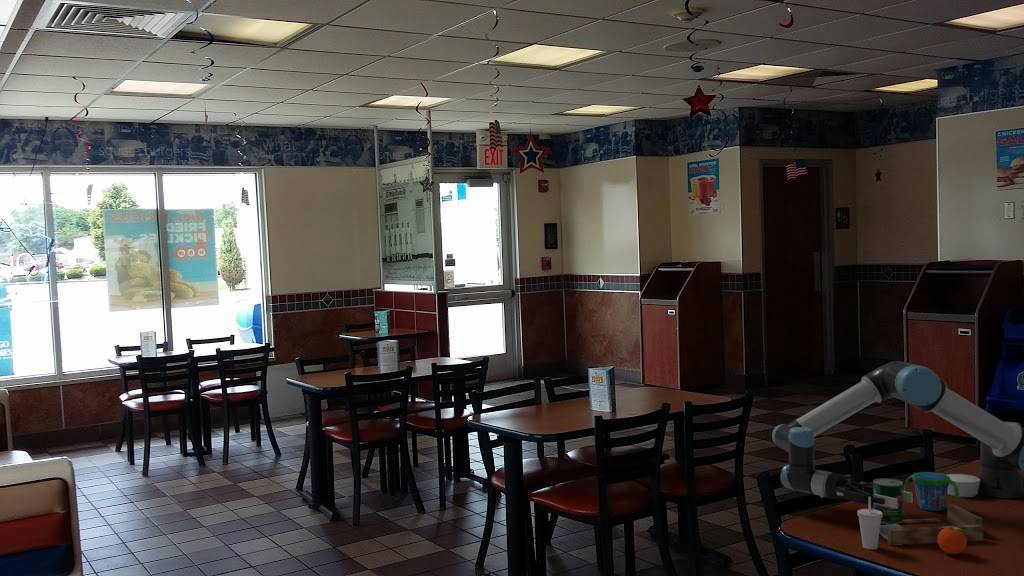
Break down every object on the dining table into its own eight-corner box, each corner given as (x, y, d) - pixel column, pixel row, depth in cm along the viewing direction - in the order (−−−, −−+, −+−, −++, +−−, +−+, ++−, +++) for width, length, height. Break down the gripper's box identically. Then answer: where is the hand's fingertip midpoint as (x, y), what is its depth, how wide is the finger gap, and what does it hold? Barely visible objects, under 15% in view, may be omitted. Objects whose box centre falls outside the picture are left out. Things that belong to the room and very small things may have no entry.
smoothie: (856, 549, 242) (855, 498, 241) (859, 542, 247) (858, 492, 247) (881, 552, 239) (881, 500, 238) (884, 545, 244) (883, 494, 244)
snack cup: (898, 506, 279) (898, 474, 279) (914, 500, 286) (914, 468, 286) (948, 517, 267) (948, 483, 267) (964, 510, 274) (964, 477, 274)
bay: (951, 520, 265) (951, 503, 265) (990, 540, 246) (990, 522, 246) (858, 524, 263) (858, 507, 262) (890, 545, 244) (890, 527, 244)
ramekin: (934, 492, 295) (934, 476, 295) (957, 487, 300) (957, 472, 299) (963, 500, 285) (963, 484, 284) (987, 495, 289) (987, 479, 289)
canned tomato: (885, 525, 250) (885, 486, 249) (867, 517, 258) (867, 479, 257) (909, 522, 252) (909, 484, 252) (890, 514, 260) (890, 477, 259)
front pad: (896, 525, 261) (896, 524, 261) (922, 540, 247) (922, 539, 247) (867, 526, 261) (867, 525, 261) (891, 542, 247) (891, 541, 247)
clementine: (961, 548, 240) (961, 522, 240) (976, 557, 233) (976, 530, 233) (932, 549, 240) (932, 523, 240) (945, 558, 233) (945, 531, 233)
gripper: (848, 491, 275) (922, 506, 258) (811, 504, 262) (886, 521, 244) (848, 467, 275) (922, 480, 257) (811, 478, 262) (886, 494, 244)
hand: (904, 500), depth 251 cm, fingers closed on canned tomato, 8 cm apart
